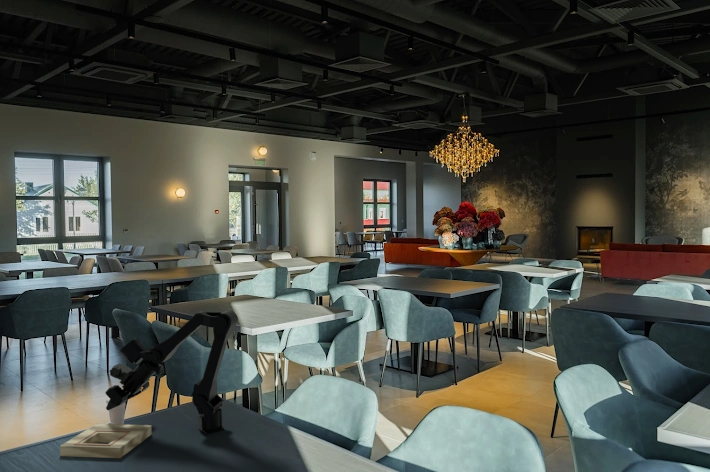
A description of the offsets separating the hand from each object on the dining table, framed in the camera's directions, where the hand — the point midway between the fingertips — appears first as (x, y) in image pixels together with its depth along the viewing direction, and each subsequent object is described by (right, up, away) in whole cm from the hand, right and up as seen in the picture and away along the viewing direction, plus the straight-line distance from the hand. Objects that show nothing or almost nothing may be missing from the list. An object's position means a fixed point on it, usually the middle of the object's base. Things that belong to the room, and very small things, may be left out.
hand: (112, 406), depth 197 cm
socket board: (+5, -7, -16) cm, 18 cm away
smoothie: (+2, -7, 0) cm, 7 cm away
